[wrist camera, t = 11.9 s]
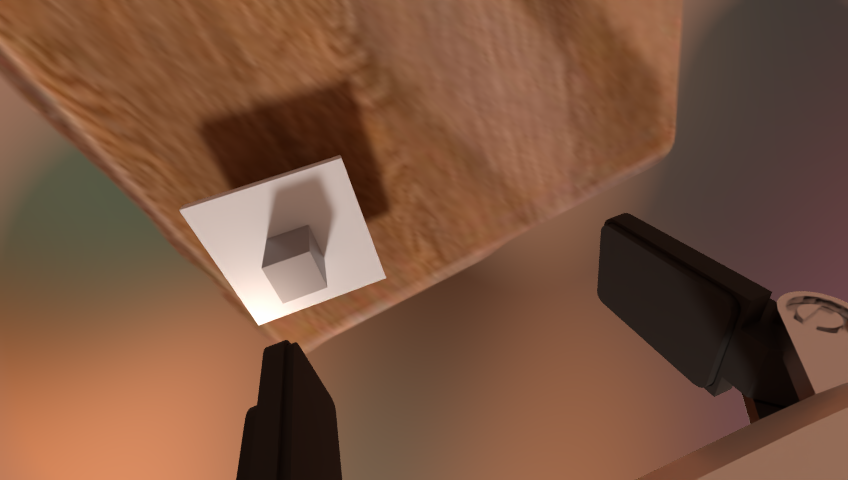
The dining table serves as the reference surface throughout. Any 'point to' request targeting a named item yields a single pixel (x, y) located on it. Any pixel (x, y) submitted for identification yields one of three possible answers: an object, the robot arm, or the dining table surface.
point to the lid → (288, 239)
